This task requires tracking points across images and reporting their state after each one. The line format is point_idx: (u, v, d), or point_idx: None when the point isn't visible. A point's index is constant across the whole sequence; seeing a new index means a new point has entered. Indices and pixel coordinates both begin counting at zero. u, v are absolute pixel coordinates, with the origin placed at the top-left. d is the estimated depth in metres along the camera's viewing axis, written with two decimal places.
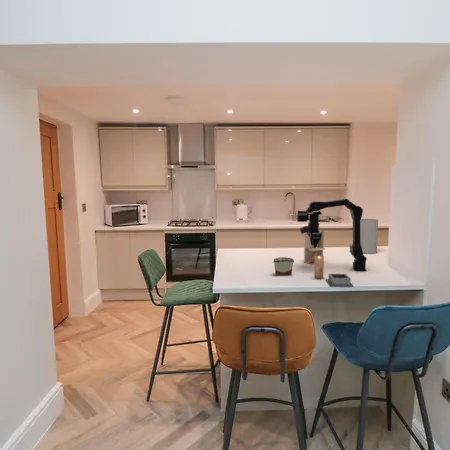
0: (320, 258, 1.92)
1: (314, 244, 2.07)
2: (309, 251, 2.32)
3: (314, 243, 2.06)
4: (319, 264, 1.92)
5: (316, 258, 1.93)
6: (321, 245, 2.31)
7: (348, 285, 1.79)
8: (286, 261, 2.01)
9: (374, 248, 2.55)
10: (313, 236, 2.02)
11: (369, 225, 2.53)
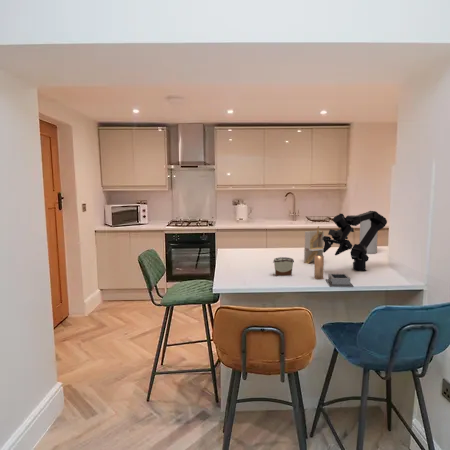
0: (320, 258, 1.92)
1: (338, 251, 1.93)
2: (309, 251, 2.33)
3: (339, 250, 1.93)
4: (319, 264, 1.92)
5: (316, 258, 1.93)
6: (321, 245, 2.31)
7: (348, 285, 1.79)
8: (286, 261, 2.01)
9: (374, 248, 2.55)
10: (347, 243, 1.91)
11: (369, 225, 2.53)
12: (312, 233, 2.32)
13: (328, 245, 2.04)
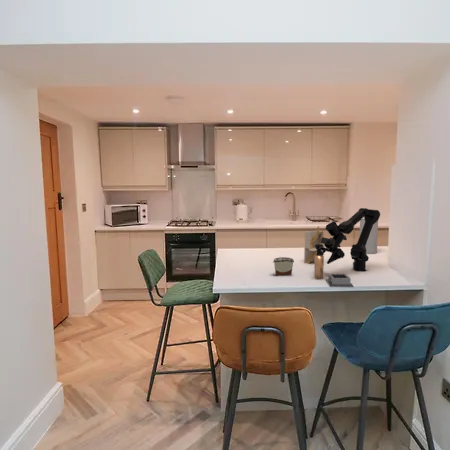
0: (320, 258, 1.92)
1: (330, 260, 1.91)
2: (309, 251, 2.33)
3: (331, 258, 1.91)
4: (319, 264, 1.92)
5: (316, 258, 1.93)
6: None
7: (348, 285, 1.79)
8: (286, 261, 2.01)
9: (374, 248, 2.55)
10: (340, 252, 1.89)
11: None
12: (312, 233, 2.32)
13: (320, 253, 2.01)
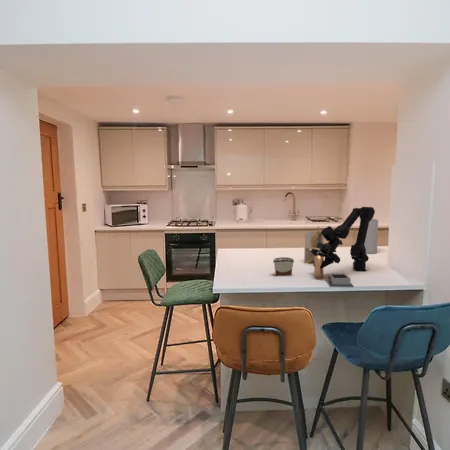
0: (320, 258, 1.92)
1: (323, 264, 1.92)
2: (309, 251, 2.33)
3: (324, 263, 1.92)
4: (319, 264, 1.92)
5: (316, 258, 1.93)
6: None
7: (348, 285, 1.79)
8: (286, 261, 2.01)
9: (374, 248, 2.55)
10: (335, 257, 1.87)
11: (369, 225, 2.53)
12: (312, 233, 2.32)
13: None
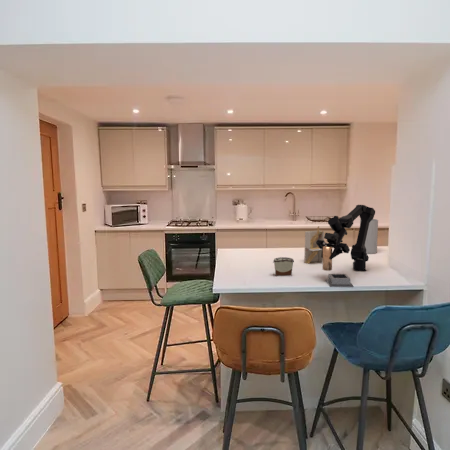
0: (329, 249, 1.86)
1: (333, 255, 1.86)
2: (309, 251, 2.33)
3: (334, 254, 1.86)
4: (328, 254, 1.86)
5: (325, 249, 1.86)
6: None
7: (348, 285, 1.79)
8: (286, 261, 2.01)
9: (374, 248, 2.55)
10: (346, 247, 1.83)
11: (369, 225, 2.53)
12: (312, 233, 2.32)
13: None
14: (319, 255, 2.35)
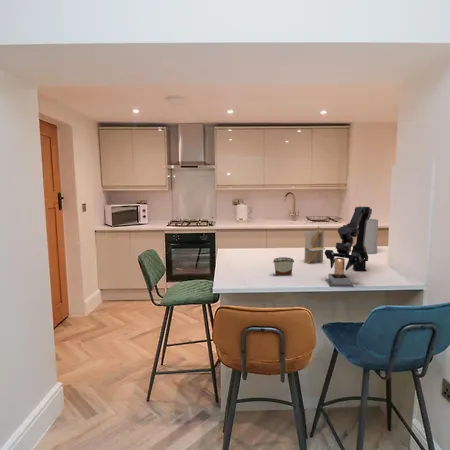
0: (343, 261, 1.81)
1: (348, 266, 1.81)
2: (309, 251, 2.33)
3: (349, 264, 1.81)
4: (341, 267, 1.81)
5: (338, 261, 1.81)
6: (321, 245, 2.32)
7: (348, 285, 1.79)
8: (286, 261, 2.01)
9: (374, 248, 2.55)
10: (359, 257, 1.80)
11: (369, 225, 2.53)
12: (312, 233, 2.32)
13: (333, 259, 1.88)
14: (319, 255, 2.35)
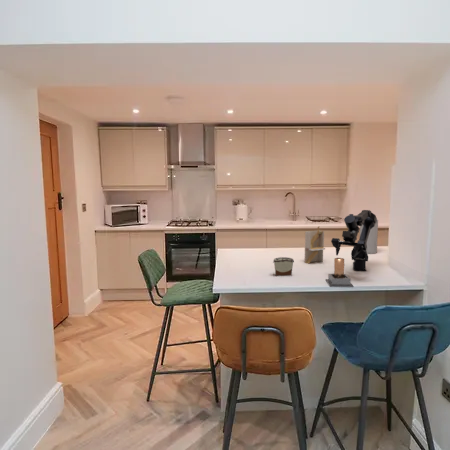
0: (342, 261, 1.81)
1: (355, 253, 1.87)
2: (309, 251, 2.33)
3: (356, 252, 1.87)
4: (341, 267, 1.81)
5: (338, 261, 1.81)
6: (321, 245, 2.32)
7: (348, 285, 1.79)
8: (286, 261, 2.01)
9: (374, 248, 2.55)
10: (365, 244, 1.86)
11: None
12: (312, 233, 2.32)
13: (339, 247, 1.95)
14: (319, 255, 2.35)
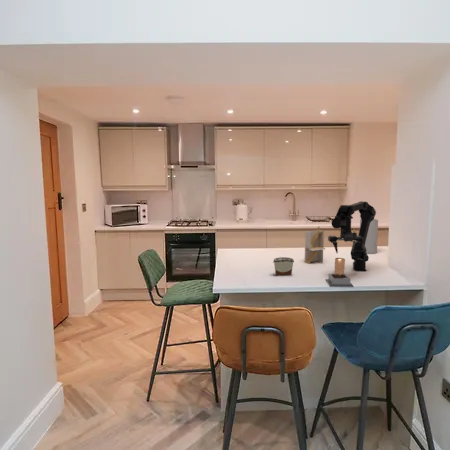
0: (343, 261, 1.81)
1: None
2: (309, 251, 2.33)
3: None
4: (342, 267, 1.81)
5: (339, 261, 1.81)
6: (321, 245, 2.32)
7: (348, 285, 1.79)
8: (286, 261, 2.01)
9: (374, 248, 2.55)
10: None
11: (369, 225, 2.53)
12: (312, 233, 2.32)
13: None
14: (319, 255, 2.35)
